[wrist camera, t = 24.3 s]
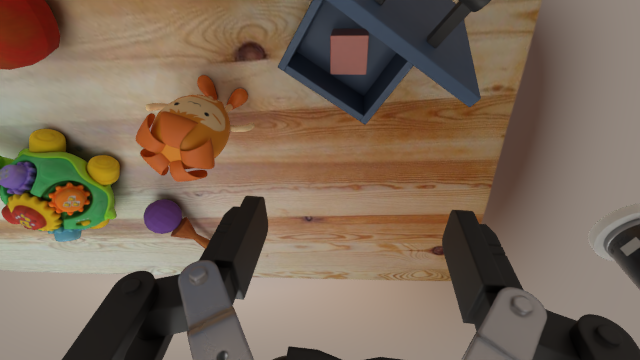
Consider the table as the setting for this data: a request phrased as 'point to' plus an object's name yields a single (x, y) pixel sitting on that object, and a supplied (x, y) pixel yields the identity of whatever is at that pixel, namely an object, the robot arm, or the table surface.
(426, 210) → the table surface
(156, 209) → the purple toy maraca
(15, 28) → the apple
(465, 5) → the lid
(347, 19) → the dark blue box
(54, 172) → the turtle toy
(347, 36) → the block
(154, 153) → the toy figure
